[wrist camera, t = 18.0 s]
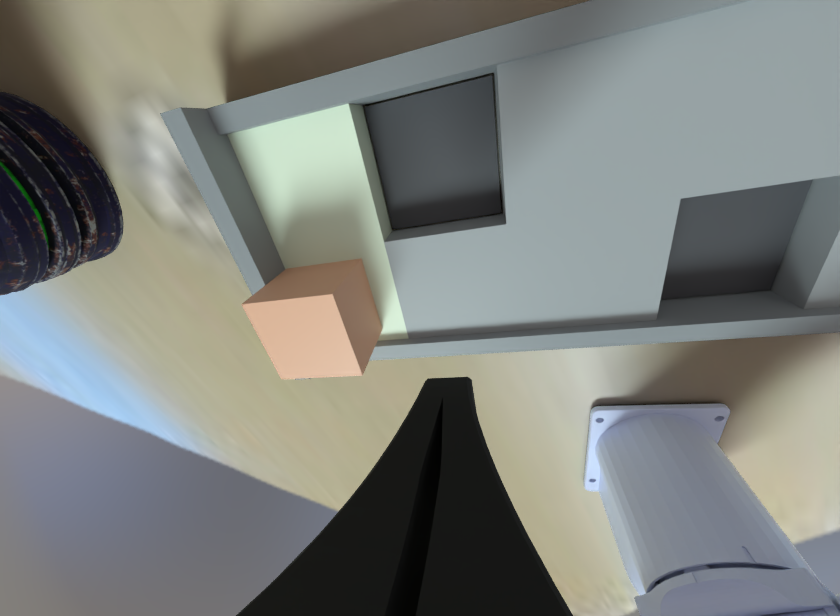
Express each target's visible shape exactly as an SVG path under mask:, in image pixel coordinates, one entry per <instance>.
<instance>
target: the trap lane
mask: <svg viewBox="0 0 840 616" xmlns="http://www.w3.org/2000/svg"><path fill="white" fill-rule="evenodd" d="M490 73H494V80H495V96H496V112H497V127H498V143H499V158H500V174H501V189H502V205H503V213H502V214H496V213H501V202H500V187H499V172H498V157H497V142H496V127H495V112H494V98H493V83H492V75H491V76H487V77H483V78H479V79H475V80H471V81H467V82H463V83H459V84H455V85H451V86H447V87H443V88H439V89H435V90H431V91H427V92H423V93H419V94H415V95H411V96H407V97H403V98H399V99H395V100H391V101H387V102H383V103H379V104H375V105H371V106H367V107H364V108H363V105H367V104H371V103H375V102H379V101H383V100H387V99H391V98H395V97H398V96H402V95H406V94H410V93H414V92H418V91H422V90H426V89H430V88H434V87H438V86H442V85H446V84H450V83H454V82H458V81H462V80H466V79H470V78H474V77H478V76H482V75H486V74H490ZM364 109H365V112H364ZM365 113H366V116H365ZM160 114H161V116H162V118H163V120H164V122H165V124H166V126H167V128H168V130H169V132H170V134H171V136H172V138H173V140H174V142H175V144H176V146H177V148H178V150H179V152H180V154H181V156H182V158H183V160H184V162H185V164H186V166H187V168H188V169H189V171H190V173H191V175H192V177H193V179H194V181H195V183H196V185H197V187H198V189H199V191H200V193H201V195H202V197H203V199H204V201H205V203H206V205H207V207H208V209H209V211H210V213H211V215H212V217H213V219H214V221H215V223H216V225H217V227H218V229H219V231H220V233H221V234H222V236H223V238H224V240H225V242H226V244H227V246H228V248H229V250H230V252H231V254H232V256H233V258H234V260H235V262H236V264H237V266H238V268H239V270H240V272H241V274H242V276H243V278H244V280H245V282H246V284H247V286H248V288H249V290H250V292H251V294H252V296H253V295H254V294H255V293H256V292H258V291H259V290H260V289H261V288H263V287H264V286H265V285H266V284H268V283H269V282H270V281H271V280H273V279H274V278H275V277H276V276H278V275H279V274H280V273H282V272H283V271H284V270H285V269H288V268H295V267H302V266H310V265H317V264H324V263H332V262H339V261H346V260H354V259H362V262H363V265H364V269H365V272H366V275H367V279H368V282H369V285H370V289H371V292H372V295H373V299H374V302H375V305H376V309H377V312H378V315H379V319H380V322H381V325H382V332H381V334H380V336H379V339H378V341H377V343H376V345H375V348H374V350H373V352H372V355H371V357H370V359H369V360H386V359H403V358H420V357H436V356H453V355H470V354H486V353H503V352H520V351H536V350H553V349H570V348H587V347H603V346H620V345H637V344H653V343H670V342H687V341H703V340H720V339H737V338H754V337H770V336H787V335H804V334H820V333H837V332H840V0H590V1H586V2H583V3H579V4H576V5H572V6H569V7H565V8H562V9H558V10H554V11H551V12H547V13H544V14H540V15H537V16H533V17H530V18H526V19H523V20H519V21H516V22H512V23H508V24H505V25H501V26H498V27H494V28H491V29H487V30H484V31H480V32H477V33H473V34H469V35H466V36H462V37H459V38H455V39H452V40H448V41H445V42H441V43H438V44H434V45H431V46H427V47H423V48H420V49H416V50H413V51H409V52H406V53H402V54H399V55H395V56H392V57H388V58H384V59H381V60H377V61H374V62H370V63H367V64H363V65H360V66H356V67H353V68H349V69H346V70H342V71H338V72H335V73H331V74H328V75H324V76H321V77H317V78H314V79H310V80H307V81H303V82H299V83H296V84H292V85H289V86H285V87H282V88H278V89H275V90H271V91H268V92H264V93H260V94H257V95H253V96H250V97H246V98H243V99H239V100H236V101H232V102H229V103H225V104H222V105H218V106H214V107H211V108H207V109H201V108H177V109H174V110H171V111H167V112H164V113H160ZM366 117H367V121H368V125H369V129H368V125H367V121H366ZM369 130H370V133H369ZM370 134H371V137H370ZM371 138H372V142H373V146H372V142H371ZM373 147H374V150H373ZM374 151H375V154H374ZM375 155H376V158H375ZM376 159H377V163H378V167H377V163H376ZM378 168H379V171H378ZM379 172H380V175H379ZM380 176H381V179H380ZM381 180H382V184H381ZM382 185H383V188H382ZM383 189H384V192H383ZM384 193H385V196H384ZM385 197H386V200H385ZM386 201H387V205H386ZM387 206H388V209H387ZM388 210H389V213H388ZM389 214H390V217H389ZM490 214H496V215H490ZM483 215H489V216H483ZM477 216H483V217H477ZM470 217H476V218H470ZM390 218H391V221H390ZM464 218H470V219H464ZM457 219H463V220H457ZM451 220H457V221H451ZM445 221H450V222H445ZM438 222H444V223H438ZM391 223H392V226H391ZM432 223H438V224H432ZM425 224H431V225H425ZM419 225H425V226H419ZM412 226H418V227H412ZM392 227H393V229H399V228H405V229H399V230H392ZM406 227H412V228H406ZM300 379H310V378H300ZM295 380H296V379H295Z"/></svg>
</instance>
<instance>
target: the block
mask: <svg viewBox="0 0 840 616" xmlns="http://www.w3.org/2000/svg"><path fill="white" fill-rule="evenodd" d="M241 305H242V307H243V308H244V310H245V312H246V314H247V316H248V318H249V320H250V321H251V323H252V325H253V327H254V329H255V331H256V333H257V335H258V336H259V338H260V340H261V342H262V344H263V346H264V348H265V350H266V351H267V353H268V355H269V357H270V359H271V361H272V363H273V364H274V366H275V368H276V370H277V372H278V374H279V376H280V378H281V379H300V378H320V377H341V376H361V375H363V373H364V371H365V368H366V366H367V364H368V361H369V359H370V357H371V355H372V352H373V350H374V348H375V345H376V343H377V341H378V339H379V336H380V334H381V332H382V325H381V322H380V319H379V315H378V312H377V309H376V305H375V302H374V299H373V295H372V292H371V289H370V285H369V282H368V279H367V275H366V272H365V269H364V265H363V262H362V259H354V260H346V261H339V262H332V263H324V264H317V265H310V266H302V267H295V268H288V269H285V270H284V271H283V272H282V273H280V274H279V275H278V276H276V277H275V278H274V279H273V280H271V281H270V282H269V283H268V284H266V285H265V286H264V287H263V288H261V289H260V290H259V291H258V292H256V293H255V294H254V295H253V296H251V297H250V298H249V299H248V300H246V301H245V302H244V303H242V304H241Z"/></svg>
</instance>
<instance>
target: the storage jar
mask: <svg viewBox="0 0 840 616" xmlns="http://www.w3.org/2000/svg"><path fill="white" fill-rule="evenodd" d="M122 234H123V217H122V211H121V207H120V204H119V200H118V198H117V195H116V193H115V190H114V188H113V186H112V184H111V182H110V180H109V179H108V177H107V175H106V173H105V172H104V170H103V169H102V167H101V166H100V164H99V163H98V161H97V160H96V158H95V157H94V156H93V155H92V153H91V152H90V151H89V150H88V148H87V147H86V146H85V145H84V144H83V143H82V142H81V141H80V140H79V139H78V138H77V136H76V135H75V134H74V133H73V132H72V131H70V130H69V129H68V128H67V127H66V126H65V125H64V124H62V123H61V122H60V121H59V120H58V119H56V118H55V117H54V116H52V115H51V114H49V113H48V112H47V111H45V110H44V109H42V108H40V107H39V106H37V105H35V104H33V103H32V102H30V101H28V100H25V99H23V98H21V97H18V96H16V95H12V94H9V93H5V92H0V295H5V294H9V293H11V292H17V291H21V290H24V289H26V288H28V287H29V286H31V285H33V284H34V283H39V282H43V281H47V280H49V279H52V278H55V277H57V276H59V275H63V274H65V273H67V272H68V271H70V270H71V269H72V268H75V267H78V266H80V265H82V264H84V263H86V262H87V261H93V260H97V259H99V258H102V257H105V256H107V255H109V254H110V253H112V252H113V251H114V250H115V249H116V248H117V247H118V245H119V243H120V241H121V238H122Z"/></svg>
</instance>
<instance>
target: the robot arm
mask: <svg viewBox="0 0 840 616" xmlns="http://www.w3.org/2000/svg"><path fill="white" fill-rule="evenodd" d="M729 415H730V409H729V408H728V407H727V406H726V405H725V404H673V405H628V406H596V407H594V408H593V409H591V414H590V424H589V434H588V444H587V454H586V464H585V475H584V487H585V489H586V490H588V491H599V493H600V496H601V499H602V502H603V505H604V508H605V511H606V514H607V517H608V520H609V523H610V526H611V529H612V532H613V535H614V538H615V541H616V544H617V547H618V550H619V553H620V555H621V558H622V561H623V564H624V567H625V570H626V572H627V575H628V577H629V579H630V581H631V583H632V584H633V586H634V588H635V589H636V591H637V592H638V593H639V595H640V596H636V597H635V598H634V599H635V602H636V605H637V608H638V611H639V614H640V616H840V594H836V596H835V595H834V594H833V593H832V592H831V591H830V590H829V589H828V588H827V587H826V586H825V585H824V584H823V583H822V582H821V581H820V580H819V579H818V577H817V576H816V575H815V573H814V572H813V571H812V569H811V568H810V567H809V565H808V564H807V563H806V561H805V560H804V559H803V558H802V556H801V555H800V553H799V552H798V551H797V549H796V548H795V547H794V545H793V544H792V543H791V541H790V540H789V539H788V537H787V536H786V535H785V533H784V532H783V531H782V529H781V528H780V527H779V525H778V524H777V523H776V521H775V520H774V519H773V517H772V516H771V515H770V513H769V512H768V511H767V509H766V508H765V507H764V505H763V504H762V503H761V501H760V500H759V499H758V497H757V496H756V495H755V493H754V492H753V491H752V489H751V488H750V487H749V485H748V484H747V483H746V481H745V480H744V479H743V477H742V476H741V475H740V474H739V472H738V471H737V470H736V468H735V467H734V466H733V464H732V463H731V462H730V460H729V459H728V458H727V456H726V455H725V454H724V452H723V451H722V450H721V448H720V447H719V446H718V442H719V439H720V437H721V434H722V432H723V429H724V427H725V424H726V422H727V420H728V417H729ZM236 616H573V615H572V613H571V611H570V610H569V608H568V606H567V604H566V603H565V601H564V599H563V598H562V596H561V594H560V593H559V591H558V589H557V587H556V586H555V584H554V582H553V580H552V578H551V576H550V575H549V573H548V571H547V569H546V567H545V566H544V564H543V562H542V560H541V558H540V556H539V555H538V553H537V551H536V549H535V547H534V545H533V544H532V542H531V540H530V538H529V536H528V534H527V533H526V531H525V529H524V527H523V525H522V523H521V521H520V519H519V517H518V515H517V513H516V511H515V509H514V507H513V504H512V502H511V500H510V498H509V496H508V494H507V492H506V490H505V487H504V485H503V483H502V481H501V479H500V476H499V474H498V472H497V469H496V467H495V464H494V462H493V460H492V457H491V455H490V452H489V449H488V447H487V444H486V442H485V439H484V436H483V433H482V430H481V427H480V424H479V421H478V417H477V413H476V407H475V400H474V393H473V387H472V380H471V379H470V378H468V377H455V378H432V379H427V380H426V381H425V383H424V385H423V387H422V389H421V391H420V393H419V395H418V397H417V399H416V401H415V402H414V404H413V406H412V408H411V410H410V411H409V413H408V415H407V417H406V418H405V420H404V422H403V423H402V425H401V427H400V428H399V430H398V432H397V433H396V435H395V436H394V438H393V440H392V441H391V443H390V444H389V446H388V447H387V449H386V450H385V452H384V453H383V454H382V456H381V457H380V459H379V460H378V462H377V463H376V465H375V466H374V468H373V469H372V470H371V472H370V473H369V474H368V476H367V477H366V478H365V480H364V481H363V482H362V484H361V485H360V486H359V487H358V489H357V490H356V491H355V493H354V494H353V495H352V496H351V498H350V499H349V500H348V501H347V502H346V504H345V505H344V506H343V507H342V508H341V509H340V511H339V512H338V513H337V514H336V515H335V517H334V518H333V519H332V520H331V521H330V522H329V523H328V525H327V526H326V527H325V528H324V529H323V530H322V531H321V533H320V534H319V535H318V536H317V537H316V538H315V539H314V540H313V541H312V542H311V543H310V544H309V545H308V546H307V547H306V548H305V549H304V550H303V552H301V553H300V554H299V556H297V558H296V559H295V560H294V561H293V562H292V563H291V564H290V565H289V566H288V567H287V568H286V569H285V570H284V571H283V572H282V573H281V574H280V575H279V576H278V577H277V578H276V579H275V580H274V581H273V582H272V583H271V584H270V585H269V586H268V587H267V588H266V589H265V590H264V591H262V592H261V593H260V594H259V595H258V596H257V597H256V598H255V599H254V600H253V601H251V602H250V603H249V604H248V605H247V606H246V607H245V608H244V609H243V610H242V611H241V612H239V614H237V615H236Z"/></svg>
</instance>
